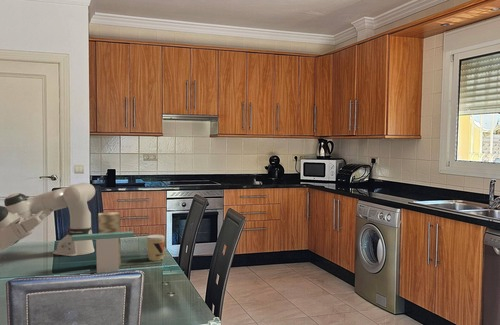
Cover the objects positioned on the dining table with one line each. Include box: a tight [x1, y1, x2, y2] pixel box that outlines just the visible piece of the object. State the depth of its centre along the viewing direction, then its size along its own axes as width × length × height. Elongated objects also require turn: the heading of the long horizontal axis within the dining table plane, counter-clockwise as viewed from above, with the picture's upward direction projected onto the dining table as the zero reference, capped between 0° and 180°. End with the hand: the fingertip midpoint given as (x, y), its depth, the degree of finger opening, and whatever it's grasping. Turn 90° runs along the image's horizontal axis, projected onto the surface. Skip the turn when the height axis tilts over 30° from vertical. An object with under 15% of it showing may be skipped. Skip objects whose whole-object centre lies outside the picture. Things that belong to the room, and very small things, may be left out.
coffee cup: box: [146, 234, 166, 261], centre depth 237 cm, size 9×9×12 cm
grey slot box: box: [95, 238, 120, 274], centre depth 215 cm, size 10×7×16 cm
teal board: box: [72, 231, 135, 241], centre depth 214 cm, size 28×4×2 cm, turn 107°
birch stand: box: [97, 211, 122, 267], centre depth 225 cm, size 10×8×26 cm
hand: (51, 210), depth 206 cm, fingers open, 8 cm apart
